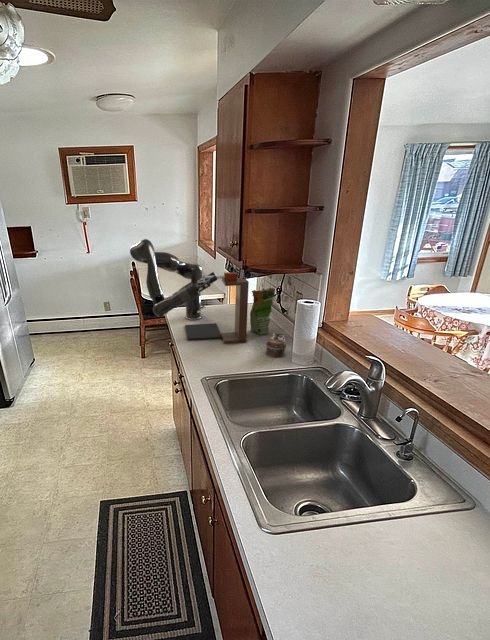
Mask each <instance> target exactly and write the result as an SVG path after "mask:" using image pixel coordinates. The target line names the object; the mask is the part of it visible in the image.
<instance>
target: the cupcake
mask: <svg viewBox="0 0 490 640" xmlns="http://www.w3.org/2000/svg"><path fill="white" fill-rule="evenodd" d="M286 341H287V340H286V339H285V334H283V333H276V332H274V333H272V335H271V336H270V337H269V338H268V339H267V342H266V343H265V348H266V354H267V356H269V357H272V358H281V357H283V356H284V354H285V350H286V348H287V342H286Z"/></svg>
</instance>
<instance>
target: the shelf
mask: <svg viewBox="0 0 490 640" xmlns="http://www.w3.org/2000/svg"><path fill="white" fill-rule="evenodd" d="M238 277H239V276H237V280H235V281H225V280H224V278H223V279H221V282H222V284H223V285H224V287H235V300H234V301H235V302H234V303H235V306H234V307H235V308H234V310H235V311H234V331H232V332H229V331H227V332H220V335H221V339H222V341H223V344H243V343H247V329H248V309H249V307H248V305H249V304H248V303H249V284H250V282H249V280H248V279H247V278H246V277H245V279H241V278H238Z"/></svg>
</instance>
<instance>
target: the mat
mask: <svg viewBox="0 0 490 640" xmlns="http://www.w3.org/2000/svg"><path fill="white" fill-rule="evenodd" d="M185 331H186V336H187V341H202V340H219V339H220V340H221V339H222V337H221V332H220V330H219V327H218V325H217V323H216V322H215V323H196V324H195V323H194V324H185Z"/></svg>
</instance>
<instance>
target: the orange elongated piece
mask: <svg viewBox="0 0 490 640" xmlns="http://www.w3.org/2000/svg"><path fill="white" fill-rule="evenodd" d="M236 275H237V276H236ZM215 276H216V277H217V280H220V279H221V280H222V279H223V278H224V280H225V281H235V280H237V277H238V273H237V272H236V271H230V272H229V271H228V272H223V274H221V275H220V274H218V275H215ZM212 277H214V276H206V275H205V277H204V278H205V279H211V278H212Z"/></svg>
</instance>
